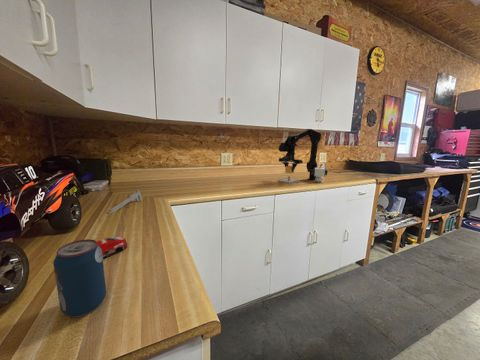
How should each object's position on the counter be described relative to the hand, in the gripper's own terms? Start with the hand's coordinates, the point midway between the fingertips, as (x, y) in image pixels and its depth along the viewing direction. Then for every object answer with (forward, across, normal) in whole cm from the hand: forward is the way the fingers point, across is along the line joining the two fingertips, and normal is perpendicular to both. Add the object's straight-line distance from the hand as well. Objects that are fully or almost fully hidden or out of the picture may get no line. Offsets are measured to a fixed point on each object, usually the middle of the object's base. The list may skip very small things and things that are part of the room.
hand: (289, 171), depth 167 cm
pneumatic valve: (+8, +15, +21) cm, 27 cm away
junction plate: (+8, 0, 0) cm, 8 cm away
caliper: (+8, -13, -117) cm, 118 cm away
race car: (+8, +27, -135) cm, 138 cm away
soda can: (+8, +45, -141) cm, 148 cm away
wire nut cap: (+1, 0, 0) cm, 1 cm away
